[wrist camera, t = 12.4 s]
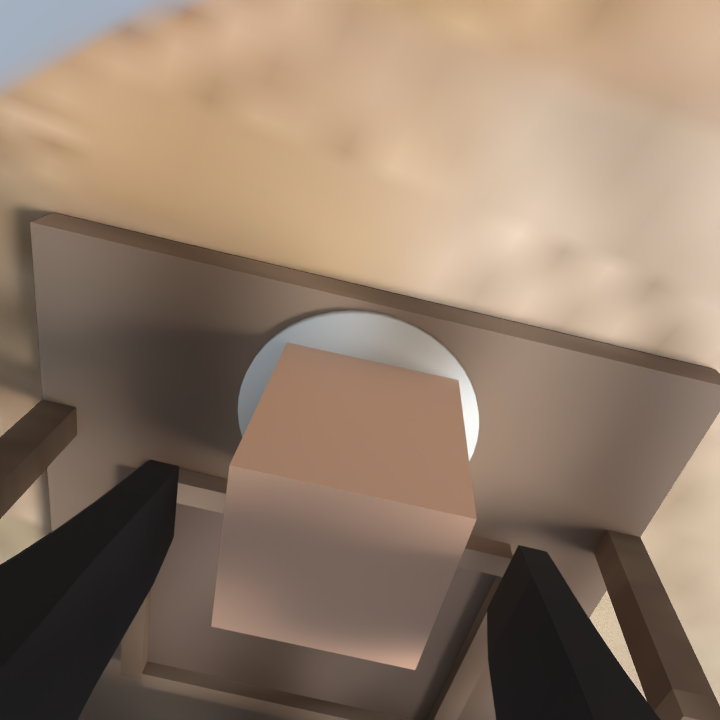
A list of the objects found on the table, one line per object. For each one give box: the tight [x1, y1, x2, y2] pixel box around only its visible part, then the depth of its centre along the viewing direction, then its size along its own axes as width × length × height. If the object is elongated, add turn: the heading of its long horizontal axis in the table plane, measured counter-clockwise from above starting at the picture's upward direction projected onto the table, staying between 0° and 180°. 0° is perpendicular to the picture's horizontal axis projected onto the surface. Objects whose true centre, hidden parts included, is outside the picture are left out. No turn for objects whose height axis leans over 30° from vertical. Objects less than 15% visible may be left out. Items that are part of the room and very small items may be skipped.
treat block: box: [211, 342, 477, 670], centre depth 13 cm, size 4×4×5 cm
